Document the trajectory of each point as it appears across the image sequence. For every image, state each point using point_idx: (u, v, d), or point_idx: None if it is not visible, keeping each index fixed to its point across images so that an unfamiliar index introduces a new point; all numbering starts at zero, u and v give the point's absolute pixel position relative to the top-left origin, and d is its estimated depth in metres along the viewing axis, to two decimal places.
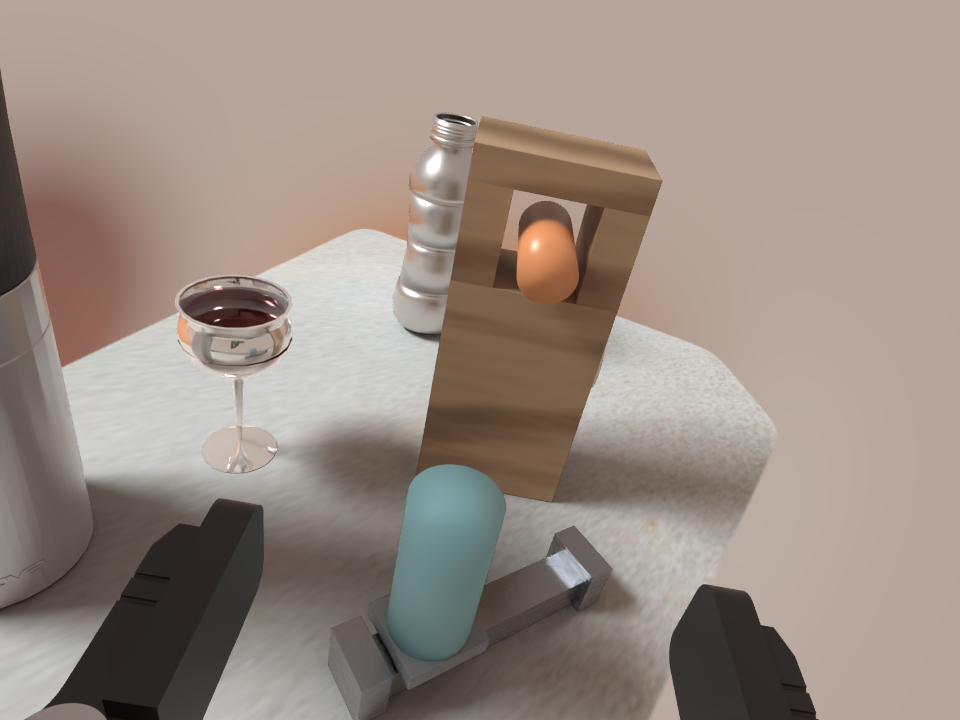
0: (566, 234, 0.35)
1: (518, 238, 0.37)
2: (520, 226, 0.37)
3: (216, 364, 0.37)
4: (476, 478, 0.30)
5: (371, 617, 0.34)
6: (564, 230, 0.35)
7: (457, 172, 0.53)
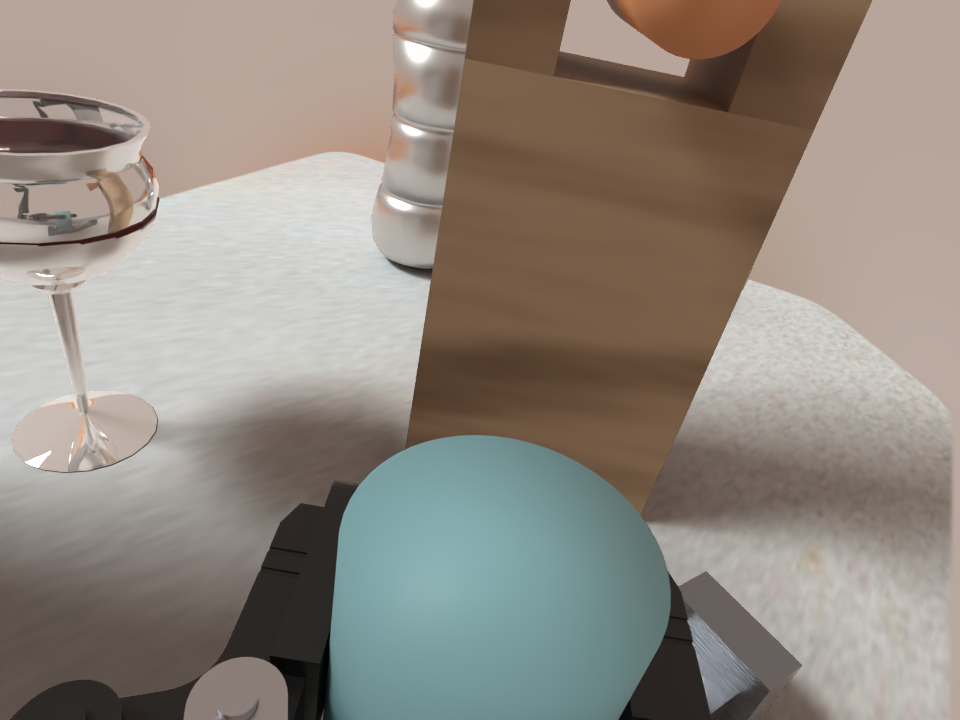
0: None
1: None
2: None
3: None
4: (557, 475, 0.10)
5: None
6: None
7: None
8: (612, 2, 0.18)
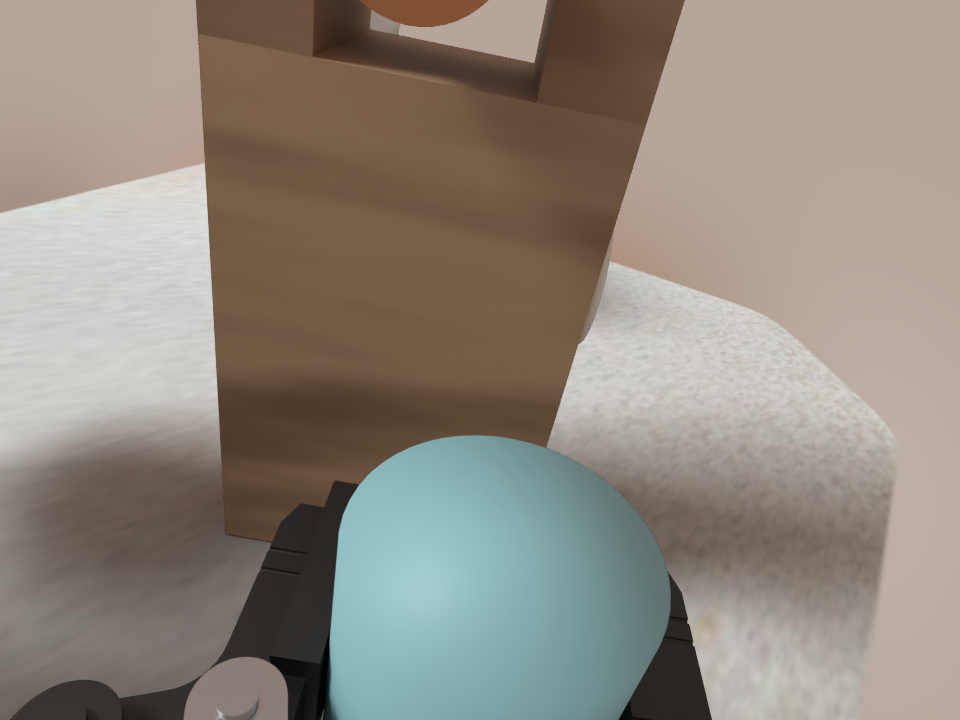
0: None
1: None
2: None
3: None
4: (557, 475, 0.10)
5: None
6: None
7: None
8: None
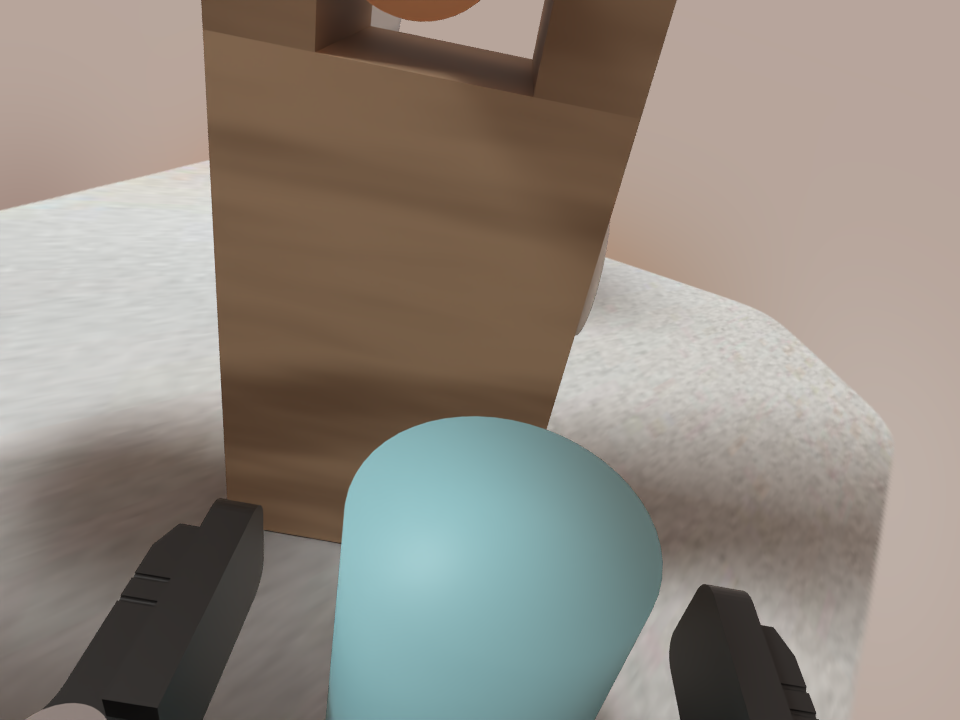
0: None
1: None
2: None
3: None
4: (554, 454, 0.10)
5: None
6: None
7: None
8: None
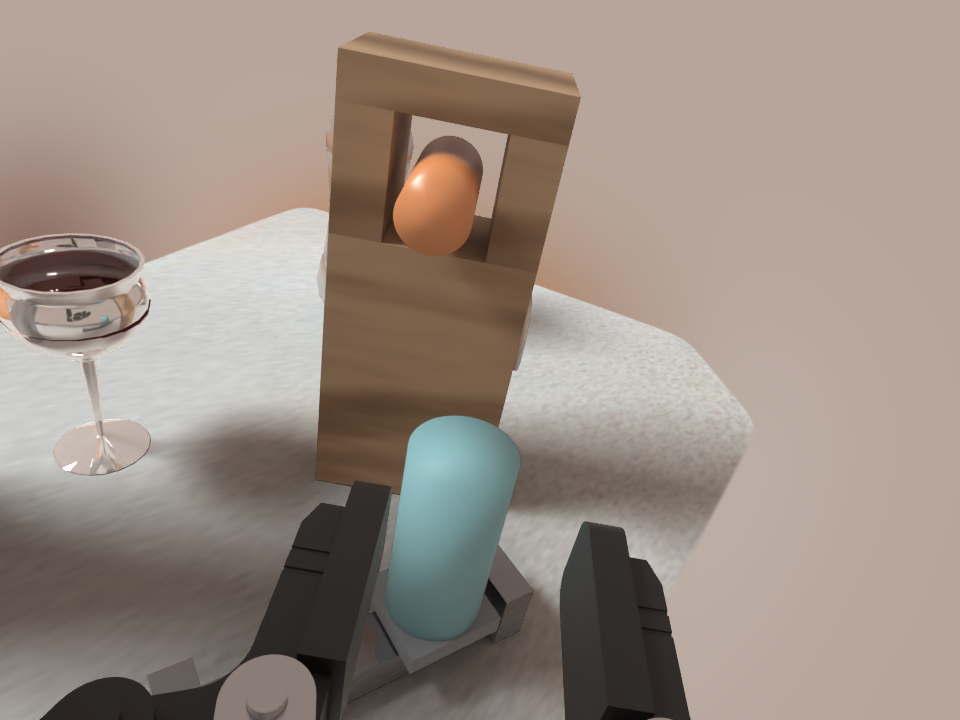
0: (462, 169, 0.27)
1: None
2: None
3: (37, 339, 0.30)
4: (486, 430, 0.26)
5: None
6: (461, 164, 0.28)
7: None
8: None
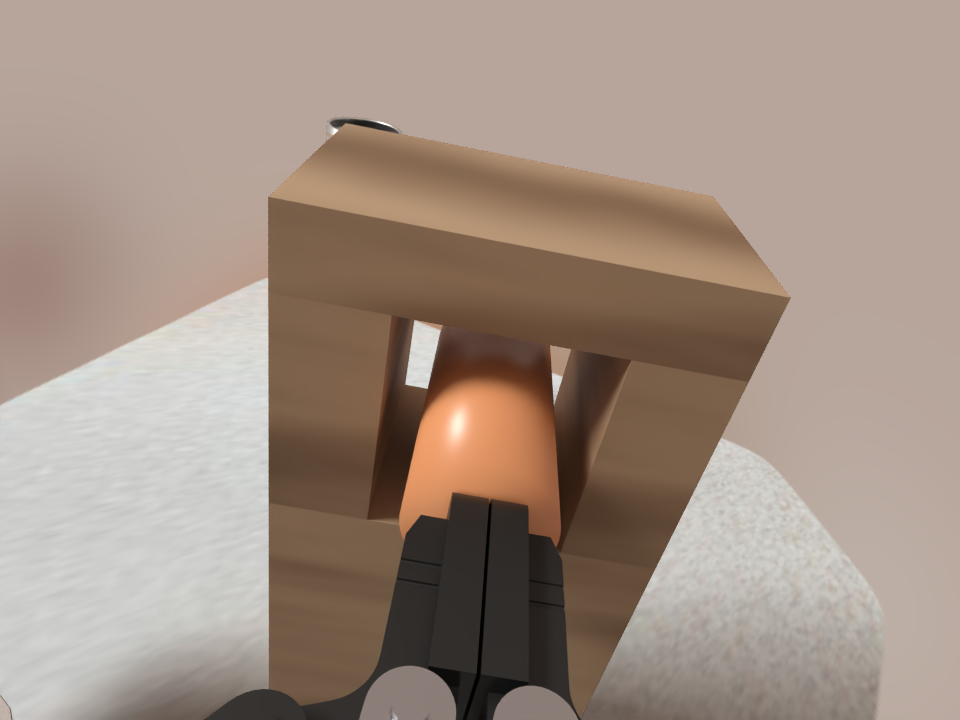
0: (531, 398, 0.14)
1: None
2: (435, 355, 0.17)
3: None
4: None
5: None
6: (527, 385, 0.14)
7: None
8: None
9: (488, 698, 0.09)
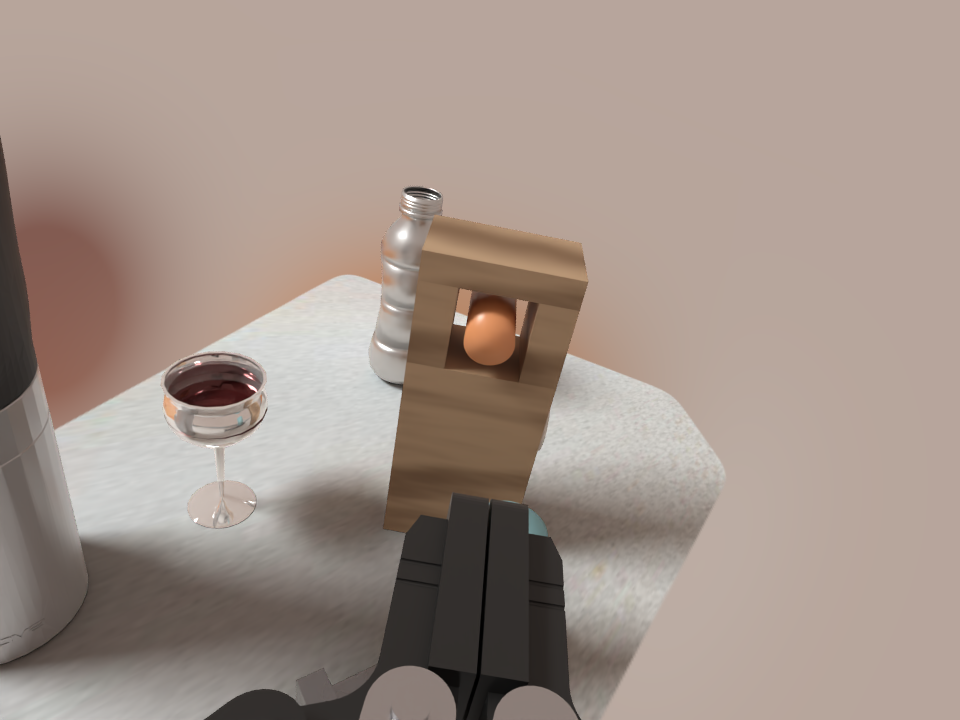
0: (506, 306, 0.41)
1: (469, 306, 0.44)
2: (471, 295, 0.44)
3: (197, 438, 0.42)
4: None
5: None
6: (505, 302, 0.42)
7: (423, 241, 0.58)
8: None
9: (488, 698, 0.09)
